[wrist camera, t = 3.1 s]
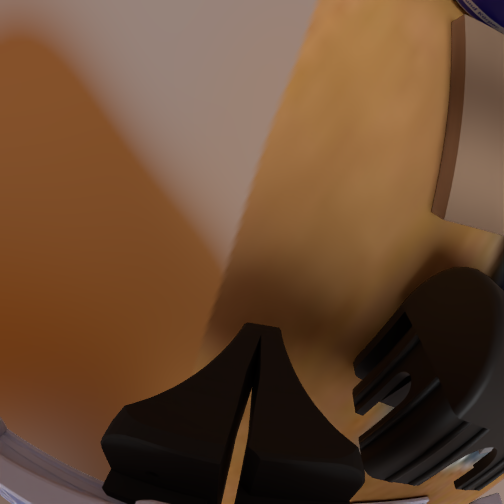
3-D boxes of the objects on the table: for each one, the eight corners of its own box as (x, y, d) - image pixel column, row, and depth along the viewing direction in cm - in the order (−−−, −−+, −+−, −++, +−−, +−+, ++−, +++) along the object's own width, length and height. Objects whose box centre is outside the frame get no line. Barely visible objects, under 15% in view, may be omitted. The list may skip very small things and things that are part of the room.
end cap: (538, 326, 11) (597, 401, 5) (459, 413, 14) (490, 499, 8) (438, 234, 11) (538, 325, 5) (339, 361, 14) (353, 489, 7)
